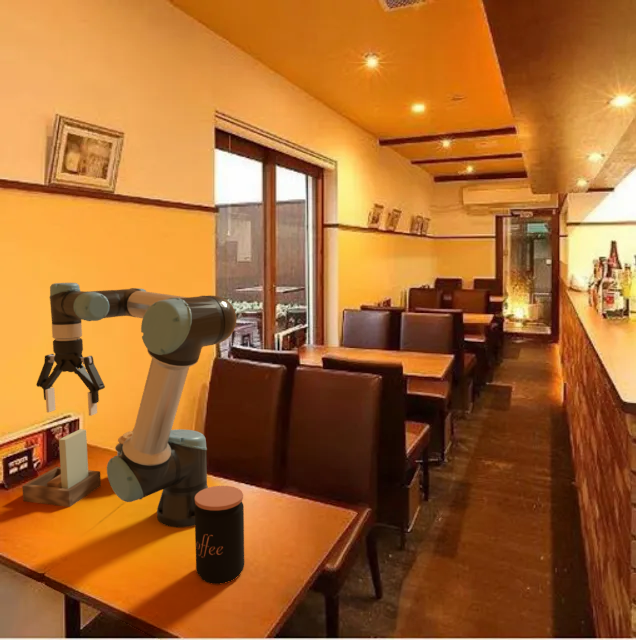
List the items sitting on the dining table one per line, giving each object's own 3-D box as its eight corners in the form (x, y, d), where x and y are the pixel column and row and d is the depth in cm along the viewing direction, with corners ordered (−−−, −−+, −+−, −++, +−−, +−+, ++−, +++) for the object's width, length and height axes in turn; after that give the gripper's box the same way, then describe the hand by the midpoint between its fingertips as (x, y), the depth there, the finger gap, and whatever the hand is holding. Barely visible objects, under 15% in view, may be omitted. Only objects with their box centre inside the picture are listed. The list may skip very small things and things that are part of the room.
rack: (101, 490, 165) (100, 471, 164) (70, 512, 152) (68, 491, 151) (57, 485, 169) (56, 466, 168) (23, 506, 155) (22, 485, 154)
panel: (89, 488, 163) (86, 429, 161) (68, 501, 154) (65, 440, 152) (83, 487, 164) (80, 429, 161) (62, 501, 155) (58, 439, 153)
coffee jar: (187, 571, 124) (184, 495, 122) (226, 553, 131) (225, 481, 129) (213, 592, 117) (212, 511, 114) (254, 572, 124) (253, 495, 122)
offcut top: (74, 481, 162) (73, 473, 162) (58, 492, 155) (58, 483, 155) (63, 480, 163) (63, 472, 162) (47, 491, 155) (47, 482, 155)
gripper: (115, 337, 154) (118, 411, 157) (38, 334, 160) (43, 406, 162) (98, 342, 147) (102, 419, 149) (19, 338, 152) (24, 413, 155)
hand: (71, 412), depth 156 cm, fingers open, 13 cm apart
